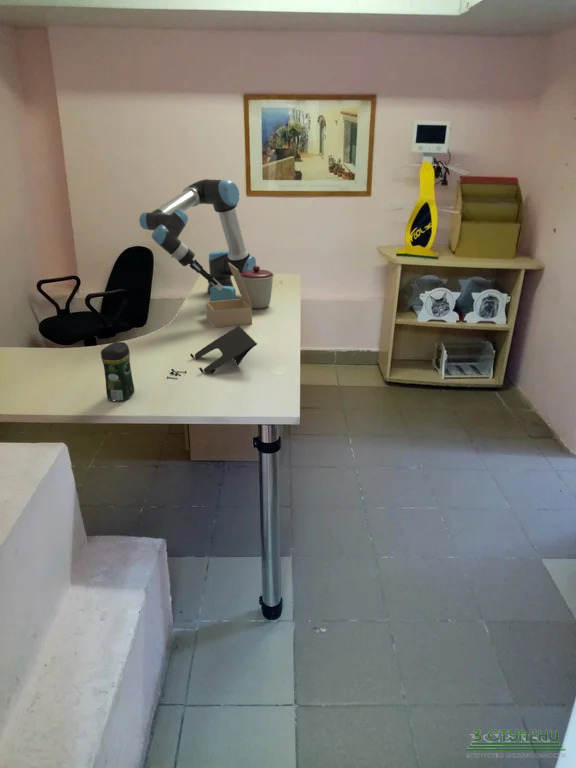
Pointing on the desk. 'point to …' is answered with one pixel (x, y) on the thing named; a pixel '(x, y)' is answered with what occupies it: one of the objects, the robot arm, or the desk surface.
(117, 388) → the coffee jar
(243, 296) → the mailer lid
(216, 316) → the box
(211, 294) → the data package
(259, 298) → the canister
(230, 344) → the portable electronic device stand
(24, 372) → the desk surface
